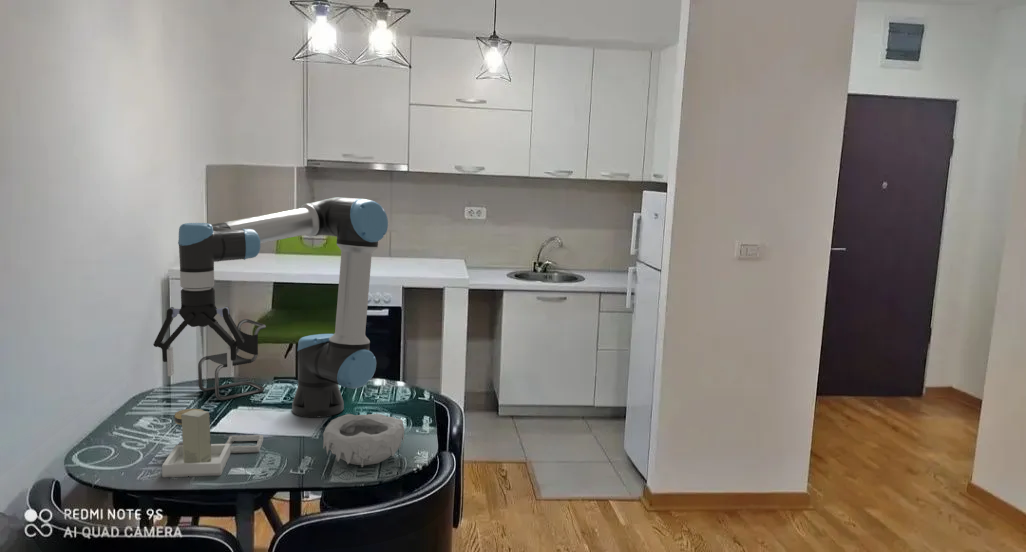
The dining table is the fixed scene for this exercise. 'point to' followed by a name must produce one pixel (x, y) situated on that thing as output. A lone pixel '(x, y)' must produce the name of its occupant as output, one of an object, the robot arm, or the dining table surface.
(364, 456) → the bowl
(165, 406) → the dining table surface
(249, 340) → the chair
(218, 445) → the tray
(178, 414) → the mounted dome knob
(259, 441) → the pin seat
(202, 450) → the box
